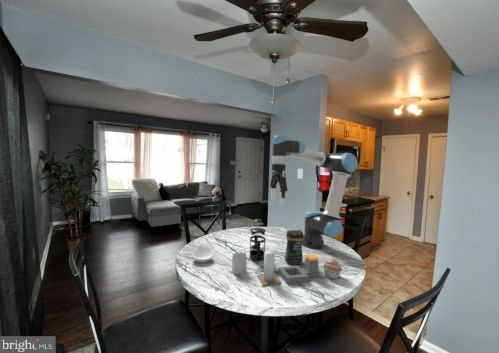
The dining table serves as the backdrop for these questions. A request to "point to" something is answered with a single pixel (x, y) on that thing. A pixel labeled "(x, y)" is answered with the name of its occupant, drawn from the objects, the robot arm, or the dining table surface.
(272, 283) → the pad
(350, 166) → the robot arm
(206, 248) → the spoon rest
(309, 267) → the housing
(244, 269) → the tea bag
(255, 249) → the french press
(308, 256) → the orange block
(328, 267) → the cupcake
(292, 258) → the coffee jar
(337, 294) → the dining table surface
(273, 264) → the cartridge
